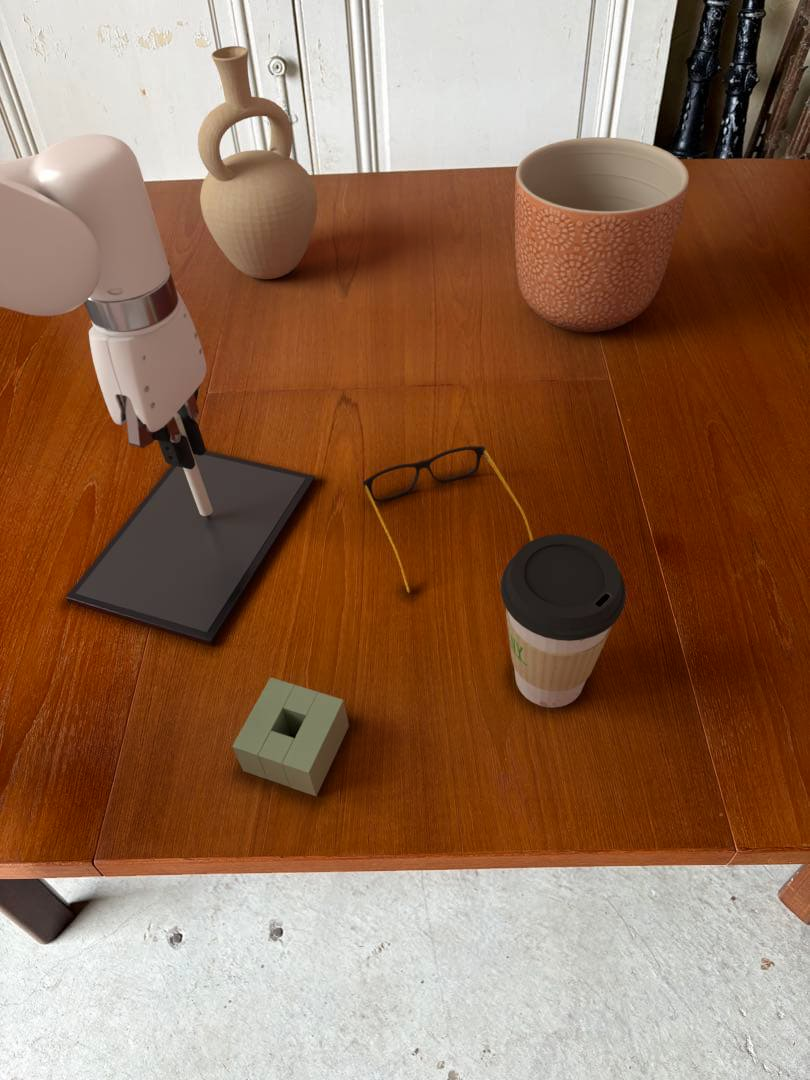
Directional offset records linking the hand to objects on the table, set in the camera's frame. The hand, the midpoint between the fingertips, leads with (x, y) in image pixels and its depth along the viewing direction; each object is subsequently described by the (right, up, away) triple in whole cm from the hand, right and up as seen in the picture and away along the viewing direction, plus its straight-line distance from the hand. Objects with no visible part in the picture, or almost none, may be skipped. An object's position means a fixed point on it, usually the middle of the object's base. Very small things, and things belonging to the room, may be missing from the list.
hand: (186, 457), depth 82 cm
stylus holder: (+13, -27, -11) cm, 31 cm away
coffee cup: (+35, -21, -8) cm, 42 cm away
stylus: (+1, -6, +6) cm, 9 cm away
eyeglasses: (+27, -7, +6) cm, 28 cm away
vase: (+2, +34, +43) cm, 55 cm away
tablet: (0, -8, +6) cm, 10 cm away
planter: (+47, +24, +32) cm, 62 cm away
